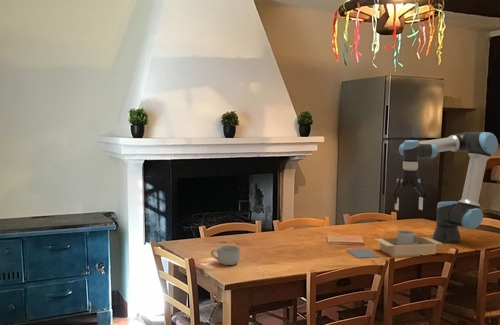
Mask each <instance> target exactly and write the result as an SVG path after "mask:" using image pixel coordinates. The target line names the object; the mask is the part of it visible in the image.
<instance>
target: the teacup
mask: <svg viewBox="0 0 500 325" xmlns="http://www.w3.org/2000/svg"><path fill="white" fill-rule="evenodd" d="M240 251H241V247H239V246H237V245H233V244H225V245H224V244H223V245H219V246H218V248H213V249H212V250H211V252H210V255H211V257H212V258H213V259H216V261H218V262H219V263H220V264H221V265H223V266H226V265H232V266H234V265H236V264H237V263H238V262H240V258H241V257H240V256H241V252H240ZM214 252H216V253H217V256H216V255H214Z"/></svg>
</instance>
